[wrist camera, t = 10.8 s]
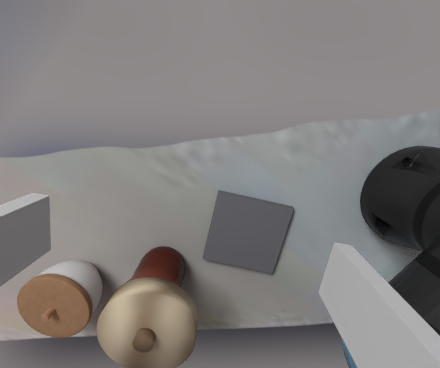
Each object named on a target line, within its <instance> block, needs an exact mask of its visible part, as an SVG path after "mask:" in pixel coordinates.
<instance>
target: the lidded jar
mask: <svg viewBox="0 0 440 368" xmlns="http://www.w3.org/2000/svg"><path fill="white" fill-rule="evenodd" d="M102 290H103V284H102V279H101V277H100V274H99V271H98V270H97V269H96V267H95V266H93V265H92V264H90V263H88V262H85V261H78V260H67V261H62V262H59V263H56V264H54V265H52V266H50V267H48V268H47V269H45V270H44V271H42V272H41V273H39V274H38V275H37V276H36V277H34V278H32V279H31V280H29V281H28V282H27V283H26V284H25V285H24V286H23V287H22V288H21V289H20V291H19V294H18V298H17V306H18V310H19V313H20V314H21V316H22V318H23V319H24V321H25V322H26V323H27V324H28V325H29V326H30V327H32V328H33V329H35V330H36V331H38V332H40V333H42V334H44V335H47V336H51V337H69V336H72V335H75V334H77V333H79V332H80V331H82V330H83V329H84V328H85V327H86V325H87V324H88V322H89V321H90V319H91V317H92V315H93V313H94V312H95V310H96V308H97V306H98V304H99V302H100V299H101V296H102Z"/></svg>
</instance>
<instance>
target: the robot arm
mask: <svg viewBox="0 0 440 368" xmlns="http://www.w3.org/2000/svg"><path fill="white" fill-rule="evenodd" d="M360 205H361V211H362V215H363V217H364V219H365V221H366V223H367V224H368V225H369V226H370V227H371V228H372V229H373V230H374V231H375V232H377V233H378V234H379V235H380V236H382V237H383V238H385V239H387V240H388V241H390V242H393V243H396V244H399V245H402V246H406V247H409V248H413V249H417V250H420V251H423V252H422V253H421V254H420V255H419V256H417V257H416V258H415V259H414V260H413V261H412V262H410V263H409V264H408V265H407V266H406V267H405V268H404V269H403V270H402V271H401V272H400V273H398V274H397V275H396V276H395V277H394V278H393V279H392V280H391V281H389V282H387V281H386V280H385V279H384V278H383V277H382V276H381V275H380V274H379V273H378V272H377V271H376V270H375V269H374V268H373V267H372V266H371V265H370V264H369V263H368V262H367V261H366V260H365V259H364V258H363V257H362V256H361V255H360V254H359V253H358V252H357V251H356V250H355V249H354V248H353V247H352V246H351V245H347V244H341V243H334V246H333V249H332V252H331V255H330V258H329V261H328V264H327V267H326V270H325V273H324V277H323V280H322V283H321V286H320V289H319V292H318V293H319V295H320V297H321V299H322V300H323V302H324V304H325V306H326V308H327V310H328V312H329V314H330V316H331V318H332V320H333V322H334V323H335V325H336V327H337V329H338V331H339V333H340V335H341V338H342V345H343V350H344V355H345V358H346V360H347V363H348V366H349V368H440V148H435V147H428V146H414V147H409V148H405V149H402V150H399V151H397V152H395V153H393V154H391V155H389V156H388V157H386V158H385V159H383V160H382V161H381V162H380V163H379V164H378V165H377V166H376V167H375V168H374V169H373V170H372V171H371V173H370V174H369V176H368V177H367V179H366V181H365V183H364V186H363V188H362V192H361V198H360ZM49 250H51V241H50V206H49V196H48V195H42V194H35V193H31V194H28V195H26V196H23V197H20V198H18V199H15V200H12V201H10V202H7V203H4V204H2V205H0V286H2V285H3V284H4V283H6V282H7V281H9V280H10V279H11V278H13V277H14V276H15V275H17V274H18V273H19V272H21V271H22V270H24V269H25V268H26V267H28V266H29V265H30V264H32V263H33V262H34V261H36V260H37V259H39V258H40V257H41V256H43V255H44V254H45V253H47V252H48V251H49Z"/></svg>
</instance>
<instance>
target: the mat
mask: <svg viewBox="0 0 440 368" xmlns="http://www.w3.org/2000/svg"><path fill="white" fill-rule="evenodd" d="M293 210H294V208H293V207H292V206H287V205H283V204H278V203H274V202H269V201H265V200H260V199H256V198H251V197H247V196H242V195H238V194H233V193H229V192H224V191H220V190H219V191H218V195H217V200H216V204H215V208H214V213H213V217H212V221H211V225H210V230H209V234H208V238H207V242H206V247H205V251H204V255H203V259H205V260H209V261H214V262H219V263H224V264H228V265H233V266H238V267H242V268H247V269H252V270H257V271H261V272H266V273H271V274H273V271H274V268H275V265H276V262H277V259H278V256H279V253H280V250H281V247H282V244H283V241H284V238H285V234H286V231H287V228H288V225H289V222H290V219H291V216H292V213H293Z"/></svg>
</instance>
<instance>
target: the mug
mask: <svg viewBox="0 0 440 368" xmlns="http://www.w3.org/2000/svg"><path fill="white" fill-rule="evenodd" d="M184 272H185V266H184V260H183V258H182V256H181V255H180V254H179V253H178V252H177V251H176V250H174V249H172V248H169V247H156V248H154V249H152V250H150V251H149V252H148V253H147V254H146V255H145V256H144V257H143V258H142V260H141V261H140V264H139V265H138V267H137V269H136V271H135V273H134V275H133V277H132V278H131V279H130V280H129V281H131V280H134V279H138V278H145V277H153V278H160V279H164V280H167V281H170V282H172V283H174V284H176V285H178V286H179V287H181V284H182V281H183V278H184ZM129 281H127V282H129ZM127 282H126V283H127Z"/></svg>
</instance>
